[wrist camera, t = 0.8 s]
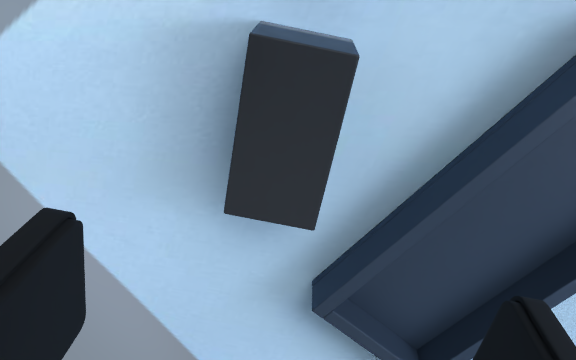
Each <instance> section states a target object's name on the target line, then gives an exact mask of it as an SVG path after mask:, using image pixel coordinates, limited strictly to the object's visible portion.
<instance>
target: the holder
mask: <svg viewBox="0 0 576 360" xmlns="http://www.w3.org/2000/svg"><path fill="white" fill-rule="evenodd" d="M312 286H313V287H312V311H313V312H314V313H316V314H317V315H319V316H320V317H321V318H323V319H324V320H326V321H327V322H329V323H330V324H331V325H333V326H334V327H336V328H337V329H338V330H340V331H341V332H343V333H344V334H345V335H347V336H348V337H350V338H351V339H353V340H354V341H355V342H357V343H358V344H360V345H361V346H362V347H364V348H365V349H367V350H368V351H369V352H371V353H372V354H374V355H375V356H376V357H378V358H379V359H381V360H471V359H472V358H474V356H475V354H476V352H477V350H478V348H479V346H480V345H481V343H482V341H483V339H484V337H485V335H486V333H487V331H488V329H489V327H490V326H491V324H492V322H493V320H494V318H495V316H496V314H497V312H498V310H499V308H500V306H501V305H502V303H503V302H505V301H510V299H511V298H512V297H514V296H522V297H527V298H532V299H538V300H542V301H544V302H546V304H547V305H548V306H549V307H550V309H551V308H553V307H555V306H556V305H558V304H559V303H561V302H563V301H564V300H566V299H567V298H569V297H570V296H572V295H574V294H575V293H576V56H574V57H573V58H572V59H571V60H570V61H569V62H567V63H566V64H565V65H564V66H563V67H562V68H560V69H559V70H558V71H557V72H556V73H555V74H553V75H552V76H551V77H550V78H549V79H548V80H546V81H545V82H544V83H543V84H542V85H541V86H539V87H538V88H537V89H536V90H535V91H534V92H532V93H531V94H530V95H529V96H528V97H527V98H525V99H524V100H523V101H522V102H521V103H520V104H518V105H517V106H516V107H515V108H514V109H513V110H511V111H510V112H509V113H508V114H507V115H506V116H504V117H503V118H502V119H501V120H500V121H498V122H497V123H496V124H495V125H494V126H493V127H491V128H490V129H489V130H488V131H487V132H486V133H484V134H483V135H482V136H481V137H480V138H479V139H477V140H476V141H475V142H474V143H473V144H472V145H470V146H469V147H468V148H467V149H466V150H465V151H463V152H462V153H461V154H460V155H459V156H458V157H456V158H455V159H454V160H453V161H452V162H451V163H449V164H448V165H447V166H446V167H445V168H444V169H442V170H441V171H440V172H439V173H438V174H437V175H435V176H434V177H433V178H432V179H431V180H430V181H428V182H427V183H426V184H425V185H424V186H423V187H421V188H420V189H419V190H418V191H417V192H416V193H414V194H413V195H412V196H411V197H410V198H409V199H407V200H406V201H405V202H404V203H403V204H402V205H400V206H399V207H398V208H397V209H396V210H395V211H393V212H392V213H391V214H390V215H389V216H388V217H386V218H385V219H384V220H383V221H382V222H380V223H379V224H378V225H377V226H376V227H375V228H373V229H372V230H371V231H370V232H369V233H368V234H366V235H365V236H364V237H363V238H362V239H361V240H359V241H358V242H357V243H356V244H355V245H354V246H352V247H351V248H350V249H349V250H348V251H347V252H345V253H344V254H343V255H342V256H341V257H340V258H338V259H337V260H336V261H335V262H334V263H333V264H331V265H330V266H329V267H328V268H327V269H326V270H324V271H323V272H322V273H321V274H320V275H319V276H317V277H316V278H315V279H314V280H313V281H312Z"/></svg>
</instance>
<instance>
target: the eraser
mask: <svg viewBox="0 0 576 360" xmlns="http://www.w3.org/2000/svg"><path fill="white" fill-rule="evenodd" d="M358 61H359V54H358V52H357V50H356V47H355V45H354V43H353V41H352V40H351V39H346V38H341V37H336V36H331V35H326V34H322V33H317V32H312V31H307V30H302V29H298V28H293V27H288V26H283V25H278V24H273V23H269V22H264V21H260V23H259V24H258V25H257V26H256V27H255V28H254V29H253V30H252V32H251V33H250V34H249V40H248V47H247V54H246V61H245V68H244V75H243V82H242V89H241V96H240V103H239V110H238V117H237V124H236V131H235V138H234V145H233V151H232V158H231V165H230V172H229V179H228V186H227V193H226V200H225V207H224V213H225V214H229V215H235V216H240V217H245V218H250V219H256V220H261V221H266V222H271V223H276V224H282V225H287V226H292V227H297V228H302V229H308V230H315V226H316V222H317V218H318V215H319V211H320V207H321V203H322V199H323V195H324V191H325V188H326V184H327V180H328V176H329V172H330V168H331V165H332V161H333V157H334V153H335V149H336V145H337V141H338V138H339V134H340V130H341V126H342V122H343V118H344V114H345V111H346V107H347V103H348V99H349V95H350V91H351V87H352V84H353V80H354V76H355V72H356V68H357V64H358Z"/></svg>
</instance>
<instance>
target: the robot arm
mask: <svg viewBox="0 0 576 360" xmlns="http://www.w3.org/2000/svg"><path fill="white" fill-rule="evenodd" d="M84 273H85V272H84V242H83V224H82V222H81V221H78V220H76V217H75V215H74V213H72V212H67V211H62V210H57V209H51V208H43V209H42V210H40V211H39V212H38V213H37V214H36V215H35V216H33V217H32V218H31V219H30V220H29V221H28V222H27V223H26V224H24V225H23V226H22V227H21V228H20V229H19V230H18V231H17V232H16V233H14V234H13V235H12V236H11V237H10V238H9V239H8V240H7V241H5V242H4V243H3V244H2V245H1V246H0V360H62V358H63V357H64V355H65V354H66V352H67V351H68V349H69V348H70V346H71V344H72V343H73V341H74V340H75V338H76V337H77V335H78V334H79V332H80V330H81V328H82V326H83V324H84V321H85V315H86V304H85V274H84ZM473 360H576V346H575V345H574V343H573V342H572V340H571V339H570V337H569V336H568V334H567V333H566V331H565V330H564V328H563V327H562V325H561V324H560V322H559V321H558V319H557V318H556V316H555V315H554V313H553V312H552V310H551V309H550V307H549V306H548V305H547V304H546V302H544V301H542V300H538V299H532V298H527V297H522V296H514V297H512V298H511V299H510V301H505V302H503V303H502V305H501V306H500V308H499V310H498V312H497V314H496V316H495V318H494V320H493V322H492V324H491V326H490V327H489V329H488V331H487V333H486V335H485V337H484V339H483V341H482V343H481V345H480V346H479V348H478V350H477V352H476V354H475V356H474V358H473Z"/></svg>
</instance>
